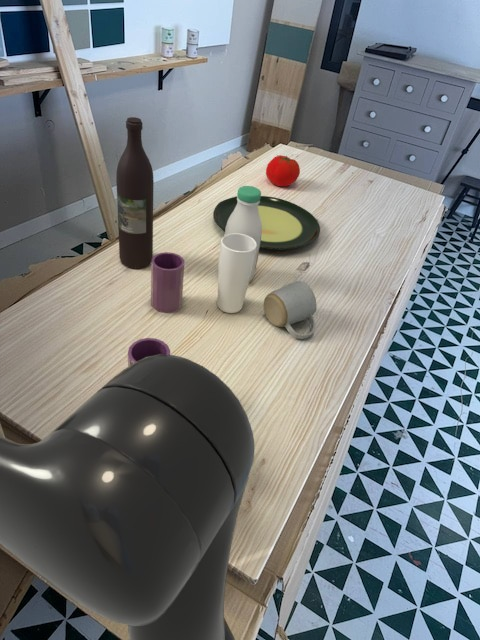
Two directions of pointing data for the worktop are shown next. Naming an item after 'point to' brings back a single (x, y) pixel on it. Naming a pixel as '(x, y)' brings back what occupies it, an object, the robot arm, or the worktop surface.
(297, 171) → the tomato
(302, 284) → the ceramic mug
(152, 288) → the far cup
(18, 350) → the worktop surface
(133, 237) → the wine bottle
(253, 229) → the milk bottle
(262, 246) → the plate
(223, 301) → the drinking glass
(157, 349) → the pair cup
